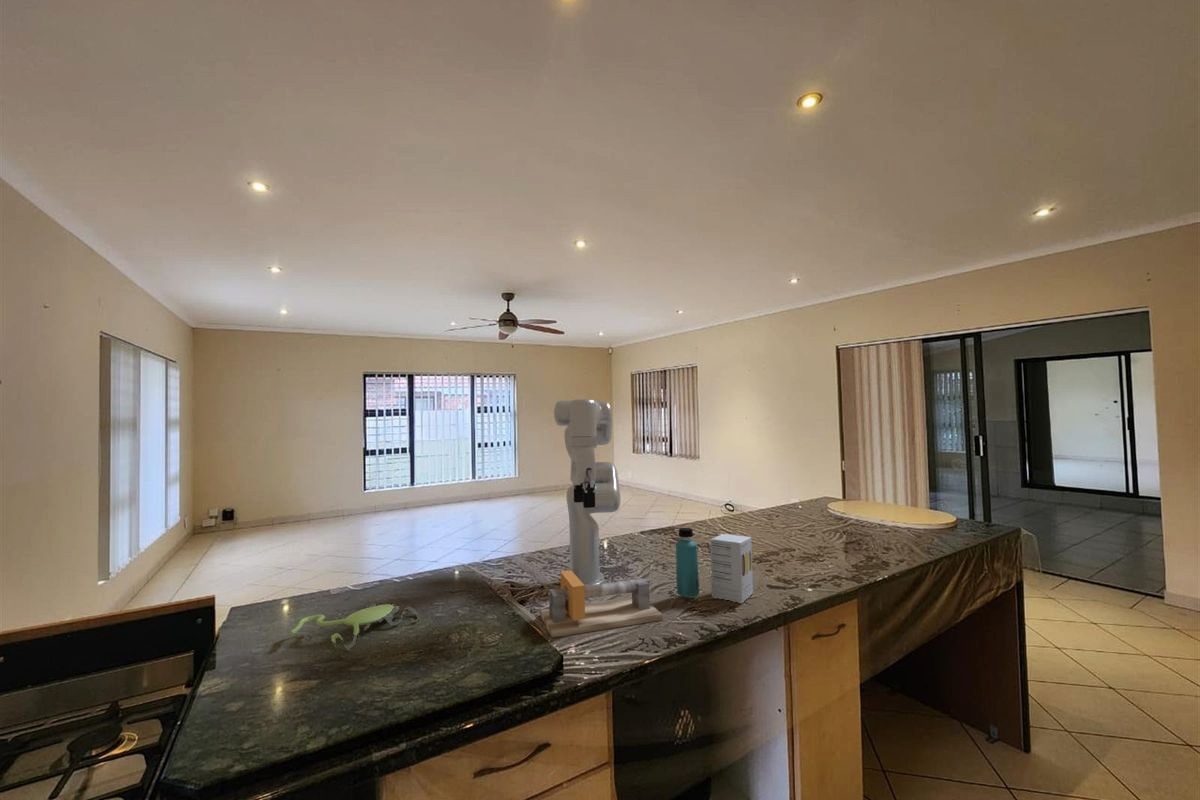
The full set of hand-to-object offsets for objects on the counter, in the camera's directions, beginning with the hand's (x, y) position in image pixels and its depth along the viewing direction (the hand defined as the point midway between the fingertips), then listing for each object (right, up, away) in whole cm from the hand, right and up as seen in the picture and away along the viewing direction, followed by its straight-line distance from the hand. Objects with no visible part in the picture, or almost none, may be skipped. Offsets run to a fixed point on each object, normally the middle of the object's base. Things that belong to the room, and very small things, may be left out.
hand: (584, 504), depth 128 cm
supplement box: (+43, -28, +6) cm, 52 cm away
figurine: (-56, -29, -14) cm, 64 cm away
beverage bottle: (+30, -28, +5) cm, 41 cm away
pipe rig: (+5, -28, -8) cm, 29 cm away
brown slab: (-3, -25, -10) cm, 27 cm away
